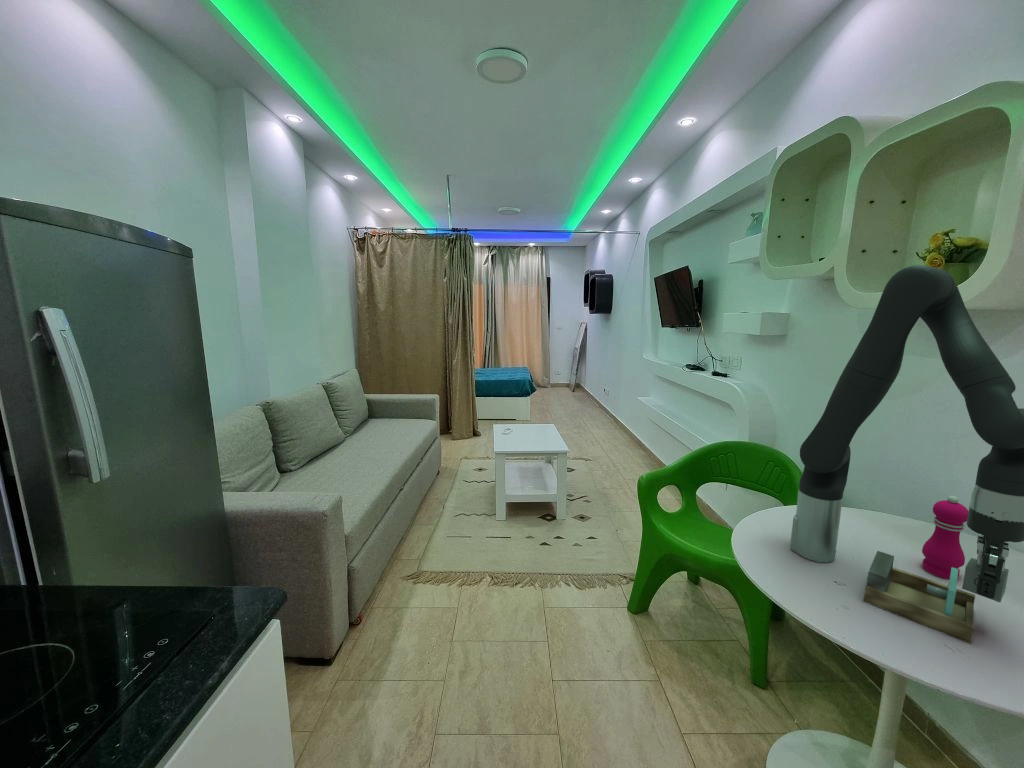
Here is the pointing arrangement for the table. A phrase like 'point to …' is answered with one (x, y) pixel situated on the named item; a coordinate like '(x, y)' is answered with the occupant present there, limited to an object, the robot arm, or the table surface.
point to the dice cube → (972, 579)
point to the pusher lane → (918, 599)
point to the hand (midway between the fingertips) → (984, 588)
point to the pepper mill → (945, 538)
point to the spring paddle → (947, 592)
